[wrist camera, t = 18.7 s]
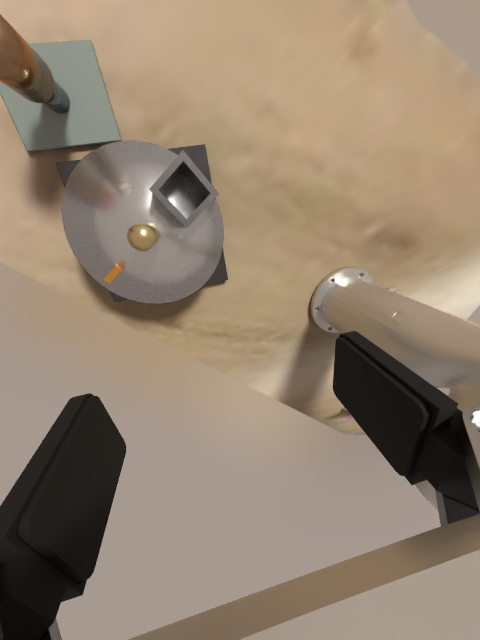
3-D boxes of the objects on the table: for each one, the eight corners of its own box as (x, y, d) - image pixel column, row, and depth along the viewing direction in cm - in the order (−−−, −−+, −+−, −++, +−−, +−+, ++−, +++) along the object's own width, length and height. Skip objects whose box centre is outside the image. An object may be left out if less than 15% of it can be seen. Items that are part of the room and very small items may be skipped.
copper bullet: (65, 73, 23) (-12, -14, 14) (83, 118, 25) (23, 65, 16) (28, 77, 23) (-75, -9, 14) (48, 123, 24) (-32, 72, 15)
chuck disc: (162, 321, 32) (155, 347, 26) (37, 229, 25) (-13, 234, 19) (248, 235, 30) (263, 241, 23) (137, 102, 22) (116, 59, 16)
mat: (92, 43, 23) (90, 39, 22) (122, 141, 26) (120, 139, 26) (-16, 51, 22) (-21, 47, 21) (30, 152, 25) (27, 150, 25)
